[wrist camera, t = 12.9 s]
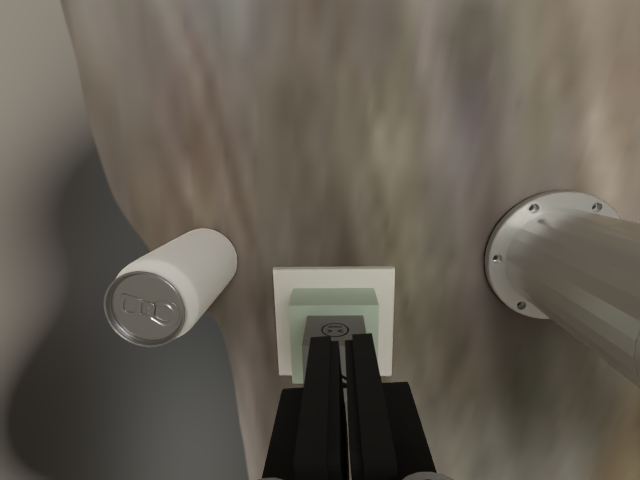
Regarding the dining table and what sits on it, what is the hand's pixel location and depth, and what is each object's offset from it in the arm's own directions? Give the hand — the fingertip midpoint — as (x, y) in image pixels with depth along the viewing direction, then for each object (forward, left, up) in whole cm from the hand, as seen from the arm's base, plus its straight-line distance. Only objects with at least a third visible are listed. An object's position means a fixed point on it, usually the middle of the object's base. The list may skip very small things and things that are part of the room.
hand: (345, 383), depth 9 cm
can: (+13, +4, -25) cm, 29 cm away
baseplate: (+1, +11, -25) cm, 27 cm away
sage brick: (+1, +11, -24) cm, 26 cm away
